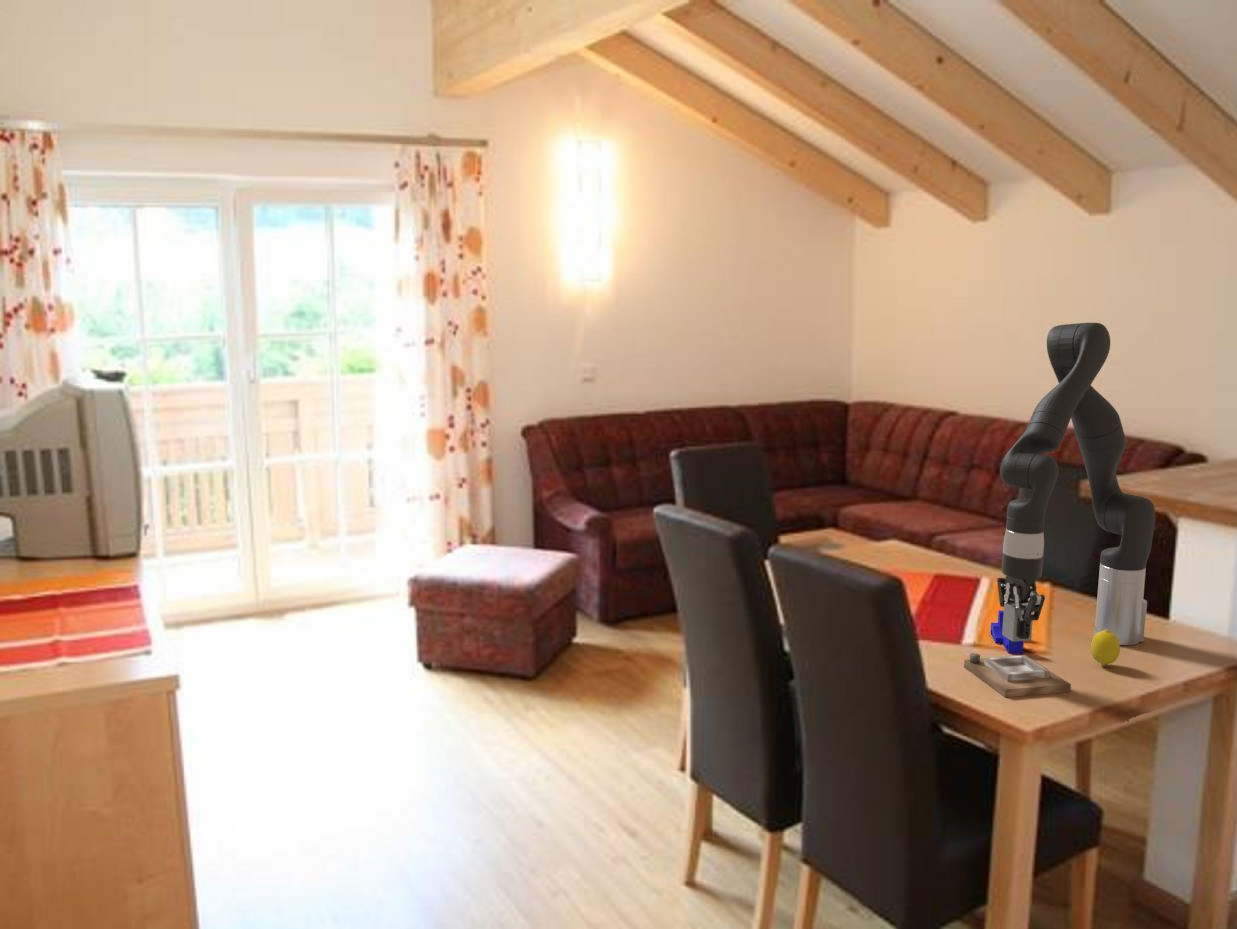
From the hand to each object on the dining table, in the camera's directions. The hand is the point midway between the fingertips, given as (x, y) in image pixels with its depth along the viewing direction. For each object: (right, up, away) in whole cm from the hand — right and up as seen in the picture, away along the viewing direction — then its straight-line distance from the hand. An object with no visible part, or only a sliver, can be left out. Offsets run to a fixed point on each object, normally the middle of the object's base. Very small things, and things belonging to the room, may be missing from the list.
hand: (1017, 633), depth 207 cm
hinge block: (0, -1, 0) cm, 1 cm away
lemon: (+22, -8, +8) cm, 24 cm away
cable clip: (+6, -6, +22) cm, 23 cm away
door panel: (0, -9, +2) cm, 10 cm away
